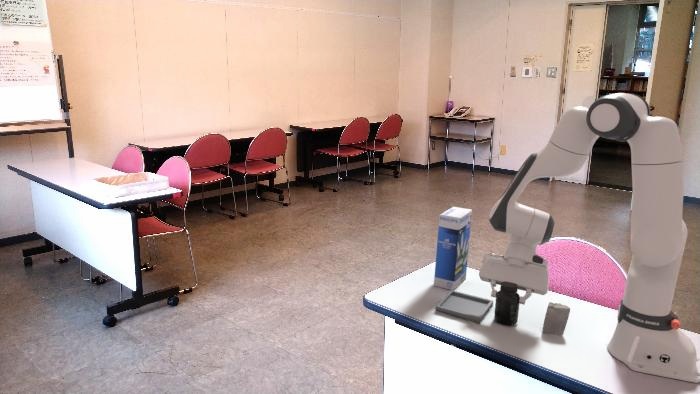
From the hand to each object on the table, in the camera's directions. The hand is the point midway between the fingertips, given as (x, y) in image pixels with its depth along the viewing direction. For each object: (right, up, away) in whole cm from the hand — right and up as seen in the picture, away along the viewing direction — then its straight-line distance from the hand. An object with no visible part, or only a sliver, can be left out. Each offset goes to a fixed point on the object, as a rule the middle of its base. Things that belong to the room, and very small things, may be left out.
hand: (507, 299), depth 155 cm
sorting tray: (-11, -5, +9) cm, 15 cm away
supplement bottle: (0, -7, +2) cm, 7 cm away
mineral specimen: (+13, -8, -1) cm, 15 cm away
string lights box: (-12, 0, +29) cm, 31 cm away
